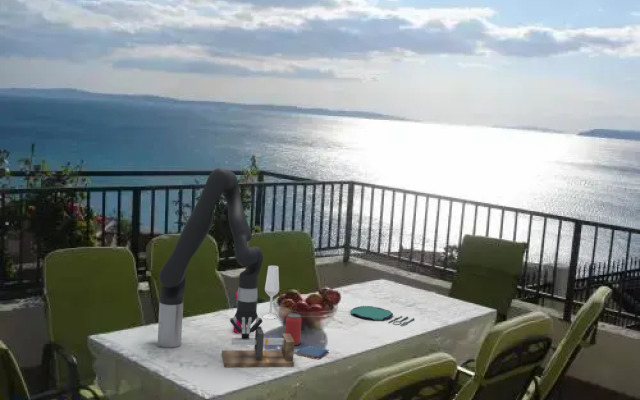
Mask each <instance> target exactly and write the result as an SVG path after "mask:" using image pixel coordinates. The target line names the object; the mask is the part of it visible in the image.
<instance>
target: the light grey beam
mask: <svg viewBox="0 0 640 400" xmlns="http://www.w3.org/2000/svg"><path fill="white" fill-rule="evenodd" d="M231 345H233V346H239V345H240V346H248V345H249V346H250V345H251V346H255V345H257V338H255V337H249V338H241V337H232V338H231ZM269 345H270V346H273V345H274V346H276V345H280V346H282V345H285V339H284V338H282V337H264V339H263V346H269Z"/></svg>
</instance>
